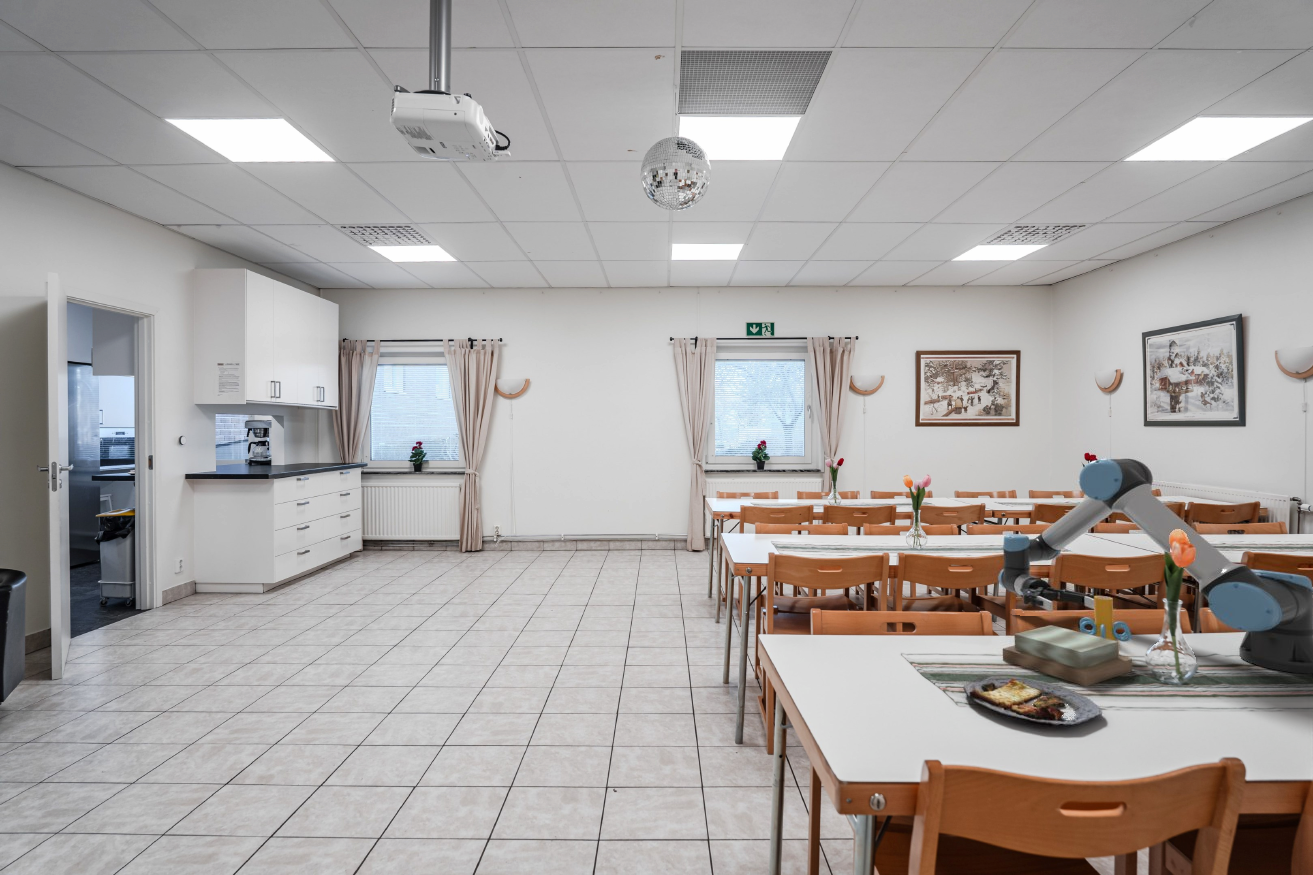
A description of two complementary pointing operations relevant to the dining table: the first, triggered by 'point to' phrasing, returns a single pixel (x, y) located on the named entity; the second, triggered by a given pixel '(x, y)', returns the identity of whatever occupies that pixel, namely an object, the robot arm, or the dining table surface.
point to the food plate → (1030, 699)
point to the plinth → (1070, 670)
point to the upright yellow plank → (1105, 621)
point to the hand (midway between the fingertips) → (1076, 606)
